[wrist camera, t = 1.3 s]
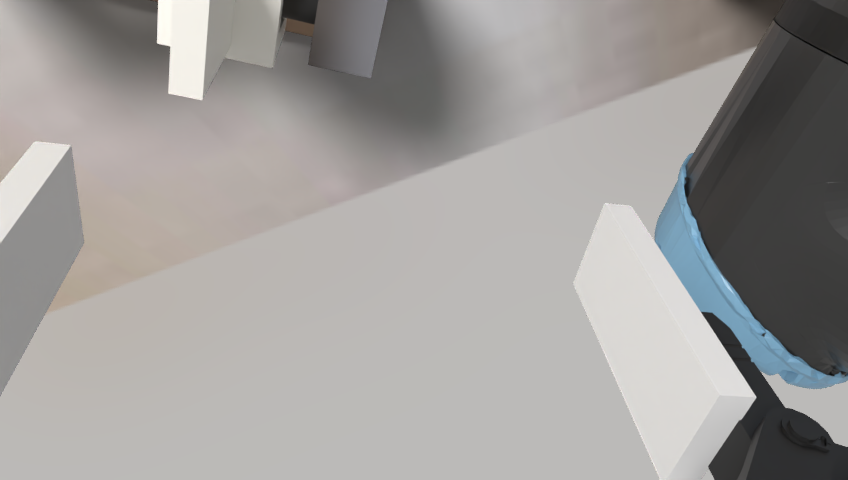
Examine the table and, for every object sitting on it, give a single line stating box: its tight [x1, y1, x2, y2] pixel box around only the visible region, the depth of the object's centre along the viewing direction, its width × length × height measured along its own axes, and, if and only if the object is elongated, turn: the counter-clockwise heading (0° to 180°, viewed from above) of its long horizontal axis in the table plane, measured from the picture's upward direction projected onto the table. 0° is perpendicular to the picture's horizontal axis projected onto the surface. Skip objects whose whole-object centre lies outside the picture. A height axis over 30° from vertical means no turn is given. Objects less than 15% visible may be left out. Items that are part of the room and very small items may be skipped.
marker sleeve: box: [157, 0, 287, 100], centre depth 28 cm, size 5×5×11 cm
